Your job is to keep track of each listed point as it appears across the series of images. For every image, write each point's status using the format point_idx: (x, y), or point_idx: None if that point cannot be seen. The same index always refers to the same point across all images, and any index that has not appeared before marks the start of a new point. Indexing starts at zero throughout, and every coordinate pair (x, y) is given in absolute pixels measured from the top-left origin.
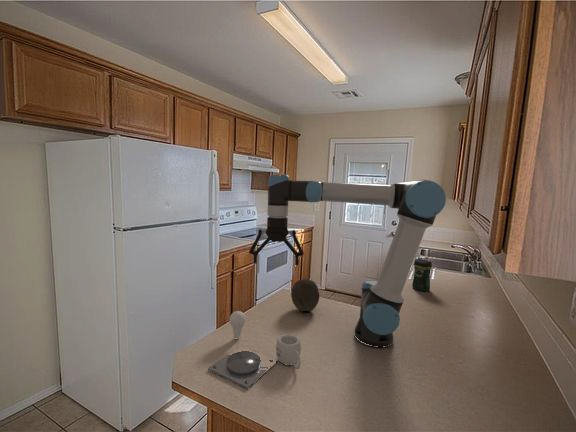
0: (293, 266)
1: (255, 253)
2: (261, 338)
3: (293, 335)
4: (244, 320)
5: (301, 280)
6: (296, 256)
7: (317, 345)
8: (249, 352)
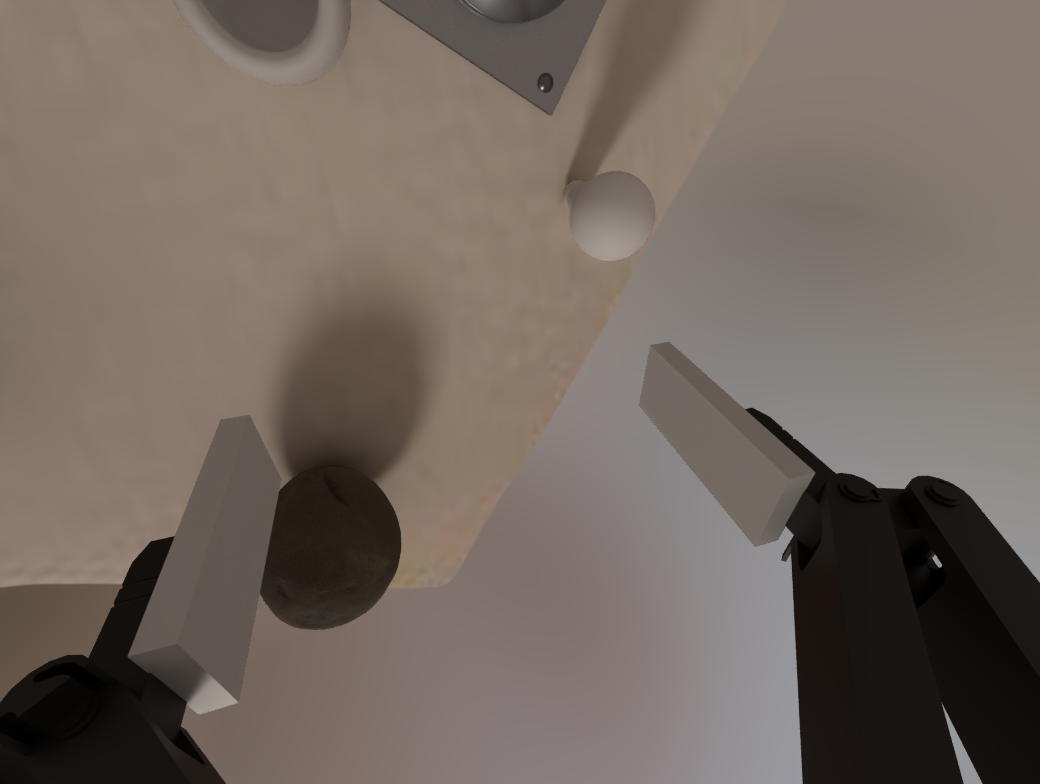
0: (220, 494)
1: (865, 496)
2: (468, 219)
3: (240, 53)
4: (577, 205)
5: (351, 604)
6: (105, 685)
7: (163, 202)
8: (499, 9)
